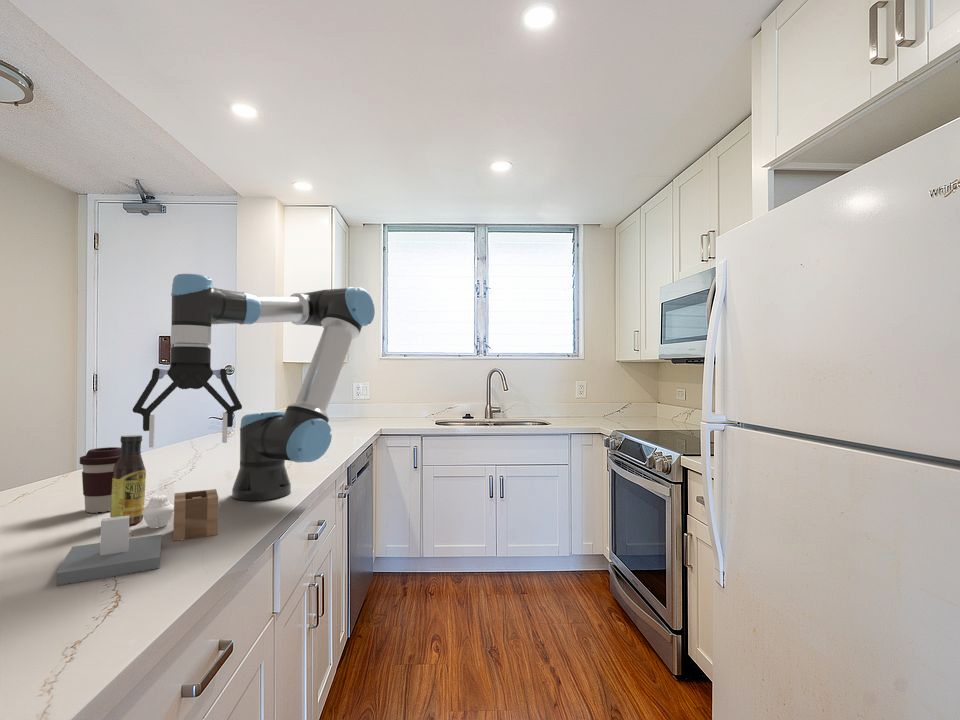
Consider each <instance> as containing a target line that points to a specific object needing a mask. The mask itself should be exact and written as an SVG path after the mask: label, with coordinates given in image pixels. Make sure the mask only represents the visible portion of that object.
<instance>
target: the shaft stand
mask: <svg viewBox="0 0 960 720" xmlns="http://www.w3.org/2000/svg"><path fill="white" fill-rule="evenodd" d="M129 516H130V515H129ZM129 516H120V517H112V518H111V517H105V518H102V519H101V520H100V542H96V543H89V544H81V545H75V546H71V548H70V549H69V552H68V553H67V555H66V557H65V558H64V559H63V562H62V563H61V565H60V567H59V568H58V570H57V572H56V574H55V575H56V576H55V587H56V586H57V585H58V586H63V585H62V584H64V585H68V584H67V583H70V584H74V583H73V582H76V583H80V581H82V582H86V581H87V580H88V581H92V580H99V579H105V578H110V577H115V576H117V577H118V576H122V575H129V574H134V573H133V572H135V573H138V572H137V571H141V572H145V571H144V570H147V571H151V570H150V569H153V570H157V569H156V568H159V569H160V565H161V564H160V563H161V555H162V545H161V544H162V541H163V539H162V536H163V535H162V534H161V533H160V534H155V535H147V536H140V537H132V538H130V525H129ZM160 554H161V555H160ZM128 573H129V574H128Z"/></svg>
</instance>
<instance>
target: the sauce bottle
mask: <svg viewBox="0 0 960 720" xmlns="http://www.w3.org/2000/svg"><path fill="white" fill-rule="evenodd" d="M142 441H143V435H141V434H129V435H128V434H124V435H120V443H121V445H120V448H121V453H120V455H121V456H120V458H119V459H118V460H117V462H116V463H115V466H114V469H113V478H112V495H111V511H109V513H110V514H109V515H110V516H109V518H112V517H120V516H129V515H130V516H129V526H131V525H135V524H138V523H140V522H142V521H143V520H144V516H143V515H142V511H143V509H144V508H145V500H146V499H145V497H146V496H145V495H146V493H145V492H146V479H147V474H146V473H147V470H146V467H145V464H144V461H143V458H142V451H141V448H142Z"/></svg>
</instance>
